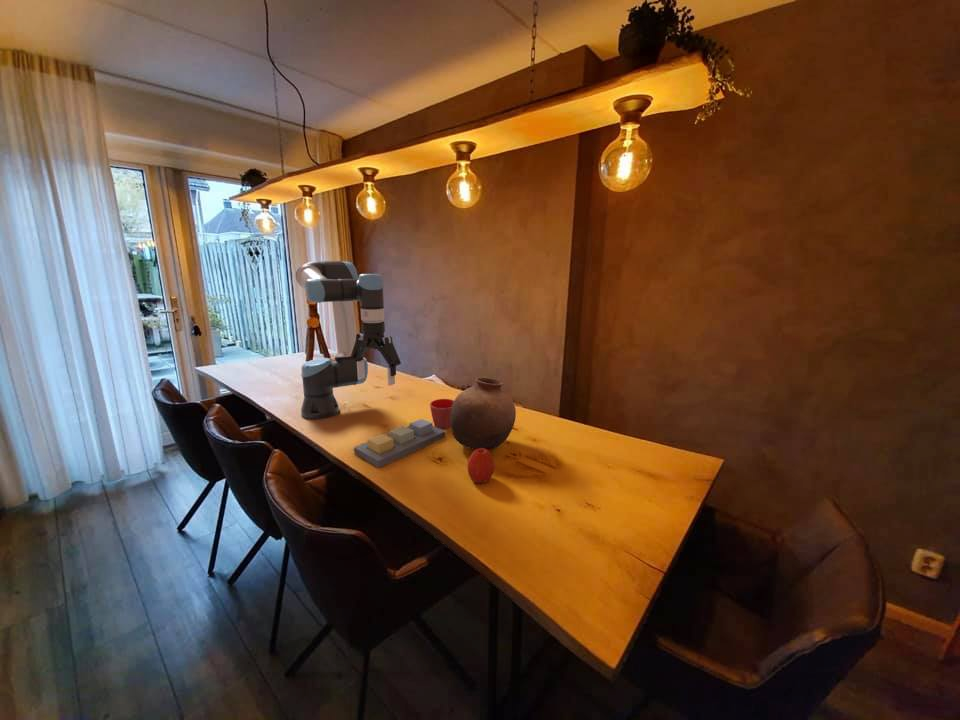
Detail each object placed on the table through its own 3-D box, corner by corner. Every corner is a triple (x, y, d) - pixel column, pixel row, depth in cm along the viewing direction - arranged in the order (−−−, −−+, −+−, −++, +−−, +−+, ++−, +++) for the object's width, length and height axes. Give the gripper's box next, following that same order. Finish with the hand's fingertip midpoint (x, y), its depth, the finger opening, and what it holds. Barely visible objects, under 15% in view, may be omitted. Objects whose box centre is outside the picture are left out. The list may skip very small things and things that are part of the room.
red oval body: (485, 491, 110) (485, 457, 107) (461, 482, 114) (461, 449, 111) (499, 478, 116) (499, 446, 114) (476, 470, 121) (476, 439, 118)
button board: (354, 453, 130) (353, 447, 129) (420, 426, 152) (420, 421, 152) (378, 467, 121) (378, 460, 121) (445, 437, 144) (445, 431, 143)
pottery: (440, 454, 130) (439, 385, 124) (465, 428, 152) (466, 368, 145) (504, 467, 123) (506, 393, 117) (521, 437, 144) (524, 374, 138)
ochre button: (368, 448, 129) (367, 439, 128) (383, 442, 134) (382, 433, 133) (379, 454, 125) (378, 444, 125) (393, 448, 130) (393, 438, 129)
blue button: (409, 432, 143) (409, 423, 142) (421, 427, 147) (421, 418, 146) (420, 436, 139) (420, 427, 138) (432, 431, 143) (432, 422, 142)
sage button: (390, 440, 136) (389, 431, 135) (403, 434, 140) (403, 425, 140) (400, 445, 132) (400, 435, 131) (414, 439, 137) (413, 430, 136)
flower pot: (453, 432, 148) (453, 409, 145) (426, 429, 150) (426, 406, 147) (460, 421, 158) (460, 399, 155) (435, 419, 160) (434, 397, 158)
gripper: (337, 319, 129) (341, 379, 135) (395, 325, 118) (397, 390, 124) (353, 316, 136) (357, 373, 141) (410, 322, 125) (411, 384, 130)
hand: (376, 381), depth 132 cm, fingers open, 13 cm apart
